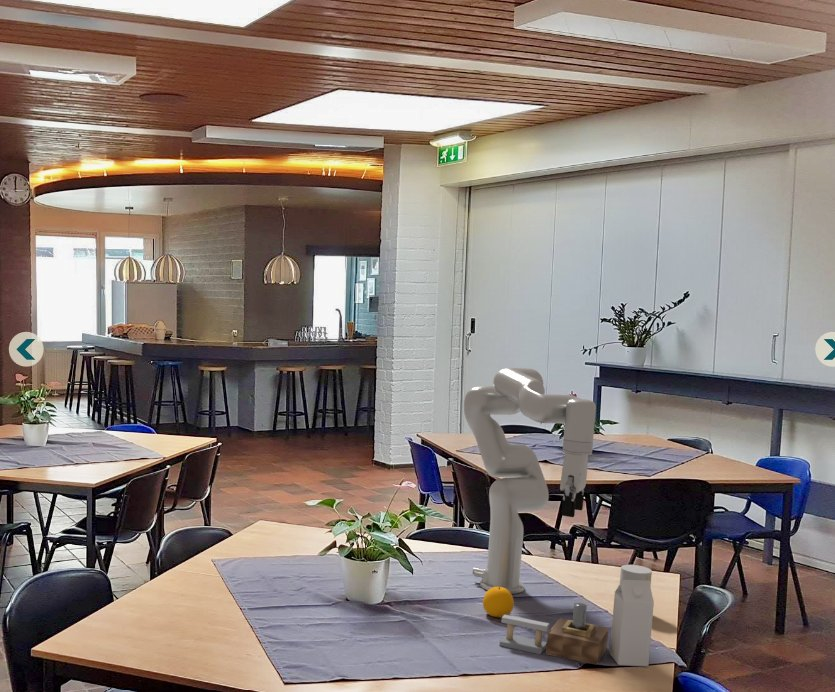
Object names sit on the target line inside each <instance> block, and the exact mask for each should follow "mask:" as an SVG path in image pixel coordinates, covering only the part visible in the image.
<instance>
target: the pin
mask: <svg viewBox="0 0 835 692" xmlns="http://www.w3.org/2000/svg"><path fill="white" fill-rule="evenodd" d="M587 607H588V605H587V604H586V603H581V602H574V603H573V610H572V613H573V614H572V621H573V623H572V628H574V629H579V630H584V631H585V623H587V622H586V621H587V620H586V619H587Z"/></svg>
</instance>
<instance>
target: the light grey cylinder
mask: <svg viewBox="0 0 835 692" xmlns="http://www.w3.org/2000/svg"><path fill="white" fill-rule="evenodd" d="M652 573H653V570H652V569H650V568H649V567H646V566H641V565H636V564H623V565H621V566H620V576H619V581H620V580H641V581H651V582H650V587H651V585H652V575H653V574H652Z"/></svg>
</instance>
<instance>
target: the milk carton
mask: <svg viewBox="0 0 835 692" xmlns="http://www.w3.org/2000/svg"><path fill="white" fill-rule="evenodd" d="M650 582H651V583H652V580H651V581H641V580H620V579H619V585H618V586H617V588H616V589H615V591H614V598H613V609H612V610H613V611H612V620H611V624H612V625H611V632H610V633H611V634H610V642H609V643H610V644H609V655H610V657H612V659H613V660H614V661H615V662H616V664H617V665H619V666H628V667H629V666H631V667H649V661H650V660H649V659H650V651H651V641H652V639H651V638H652V627H653V617H654V616H653V615H654V606H655V602H654V597H653V592H652V588H651V587H650Z"/></svg>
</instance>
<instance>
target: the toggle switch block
mask: <svg viewBox="0 0 835 692" xmlns="http://www.w3.org/2000/svg"><path fill="white" fill-rule="evenodd" d="M572 623H573V619H564V618H559V619H557V621H556V622H555V623H554V624H553V625H552V627H551V628H549V630H548V631H547V633H546V635H547V636H546V642H547V646H546V648H545V650H546V651H545V654H546V655H549V656H553V657H557V658H558V657H559V658H563V659H568V660H573V661H577V662H582V663H587V664H592V665H596V666H597V665H598V664H599V662H601V659H602V657H603V655H604V654H605V652H606V651H607V649H608V640H609V630H610V629H609V627H604V626H600V625H596V624H593V623H592V624H591V623H587V622H585V631H584V630H579V629H574V628H572Z"/></svg>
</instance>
